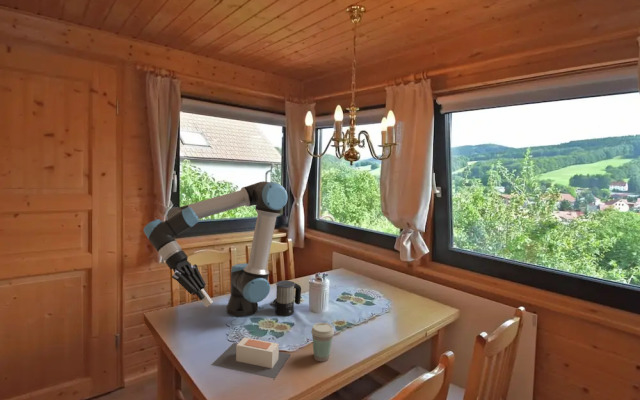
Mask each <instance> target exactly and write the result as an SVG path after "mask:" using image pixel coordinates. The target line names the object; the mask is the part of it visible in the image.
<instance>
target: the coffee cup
mask: <svg viewBox="0 0 640 400" xmlns="http://www.w3.org/2000/svg"><path fill="white" fill-rule="evenodd" d="M311 334H312V350H313V351H312V352H313V358H314V360H315V361H318V362H326V361H328V360H329V359H330V355H331V354H330V353H331V348H332V343H333V342H332V341H333V337H334V334H335V331H334V328H333V325H331V324H330V323H326V322H316V323H315V324H314V325H313V326H312V328H311Z"/></svg>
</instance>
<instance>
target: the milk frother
mask: <svg viewBox="0 0 640 400" xmlns="http://www.w3.org/2000/svg"><path fill="white" fill-rule="evenodd" d="M275 285H276V297H275V299H274V300H273V301H272V306H273V307H275V312H274V313H275V314H276V315H277V316H279V317H289V316H291V315H294V313H295V310H294V305H295V304H296V305H299V304H301V295H302V287H301V285H299V284H298V283H295V282H294V281H291V280H280V281H277V282H276V284H275ZM294 303H295V304H294Z"/></svg>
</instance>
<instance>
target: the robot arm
mask: <svg viewBox="0 0 640 400" xmlns="http://www.w3.org/2000/svg"><path fill="white" fill-rule="evenodd" d="M288 197H289V196H288V192H287V190H286V188H285V187H284V186H283V185H281V184H280V183H276V182H272V181H271V182H269V181H264V180H263V181H259V182H255V183H252V184H249V185H247V186H243V187H241V189H240V190H236V191H233V192H230V193H225V194H222V195H219V196H215V197H211V198H207V199H204V200H201V201H197V202H194V203H190V204H186V205H182V206H179V207H178V206H173V207H171V208H169V210H167V212H166V220H164V221H162V220H161V219H154V220H152V221H150V222H148V223H147V224H146V225H145V226H144V227H143V234H145V236H146V237H147V239H148V241H149V242H150V243H151V244H152V246H153V248H154V249H155V250H156V252H157V253H158V254H159V255H160V257H161V258H162V260H163V261H165V264H166V265H167V266H168V268H169V269H170V270H173V272H174V273H173V274H172V276H171V278H172V279H173V280H175V281H176V282H177V283H179V284H180V285H181V286H182V288H183V289H185V290H186V291H187V293H189V294H190V295H192V296H195V295H196V297H197V298H198V299H199V300H200V301H201V303H202V305H204V306H205V308H208V307H209V306H211V304H213V303H214V301H213V299H211V297H210V295H209V294H208V292H207V291H206V289H205V288H206V282H205V279H204V278H203V277H202V274H201V272H200V271H199V268H198V267H199V266H198V265H197V264H193V265H192V263H191V262H189V260H188V258H189V256H188V255H187V254H186V253H185V251H184V250H182V247H181V245H180V244H179V242H177V241H176V239H175V238H176V237H178V236H179V235H181V234H183V233H184V232H185V231H187V230H189V229H190V228H192V227H194V226H195V225H196V224H198V223H199V222H200V220H201V219H204V218H207V217H211V216H215V215H217V214H220V213H225V212H227V211H232V210H234V209H238V208H241V207H244V206H245V207H252V206H255V211H256V214H257V217H256V222H255V227H254V232H253V237H252V241H251V242H252V243H251V247H250V252H249V259H248V263H238V264H234V265H232V266H231V269H230V296H229V298H228V302H227V305H226V313H227V314H228V315H230V316H233V317H249V316H251V315H254V314H256V313H257V312H258V310H259V304H258V303H260V302H262V301H264V299H266V298H267V297H268V295H269V294H270V291H271V285H270V282H269V281H268V280H269V275H270V271H269V270H268V262H269V258H270V252H271V247H272V242H273V239H274V238H273V237H274V232H275V226H276V221H277V217H278V216H280V215H281V213H282V209H283V208H284V207H285V206H286V204H287V202H288V199H289V198H288Z"/></svg>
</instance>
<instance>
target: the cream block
mask: <svg viewBox="0 0 640 400" xmlns="http://www.w3.org/2000/svg"><path fill="white" fill-rule="evenodd" d="M279 345H280V344H279V343H276V342H270V341H266V340H260V339H255V338H250V337H243V338H242V339H241V340H240V341H239V342H238V343H237V345H236V361H239V362H244V363H249V364H253V365H258V366H263V367H268V368H273V366H274V365H275V363H276V362H277V360H278V355H279V352H280V350H279V349H280V346H279Z"/></svg>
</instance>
